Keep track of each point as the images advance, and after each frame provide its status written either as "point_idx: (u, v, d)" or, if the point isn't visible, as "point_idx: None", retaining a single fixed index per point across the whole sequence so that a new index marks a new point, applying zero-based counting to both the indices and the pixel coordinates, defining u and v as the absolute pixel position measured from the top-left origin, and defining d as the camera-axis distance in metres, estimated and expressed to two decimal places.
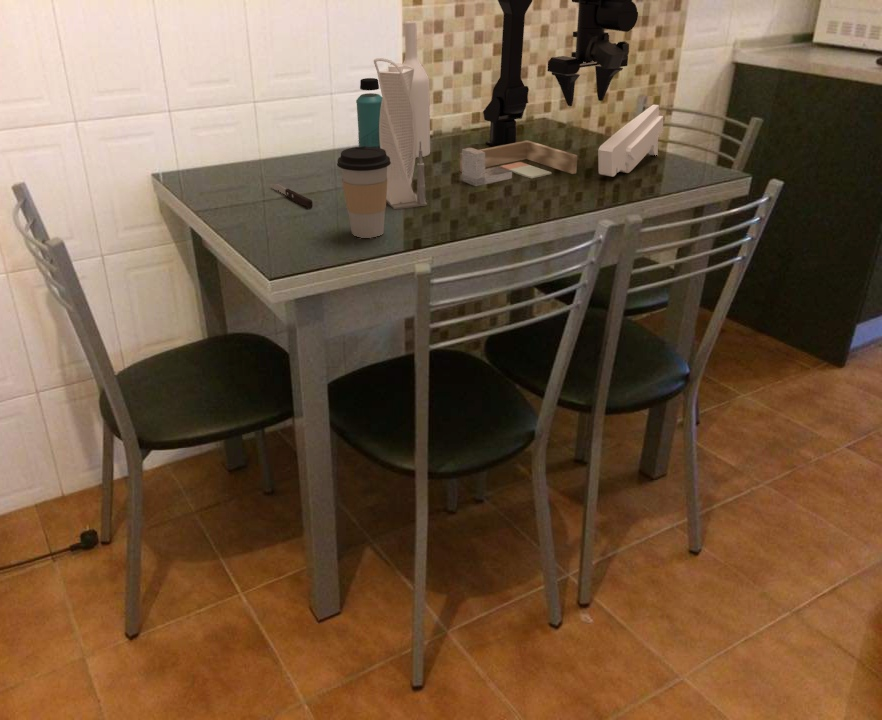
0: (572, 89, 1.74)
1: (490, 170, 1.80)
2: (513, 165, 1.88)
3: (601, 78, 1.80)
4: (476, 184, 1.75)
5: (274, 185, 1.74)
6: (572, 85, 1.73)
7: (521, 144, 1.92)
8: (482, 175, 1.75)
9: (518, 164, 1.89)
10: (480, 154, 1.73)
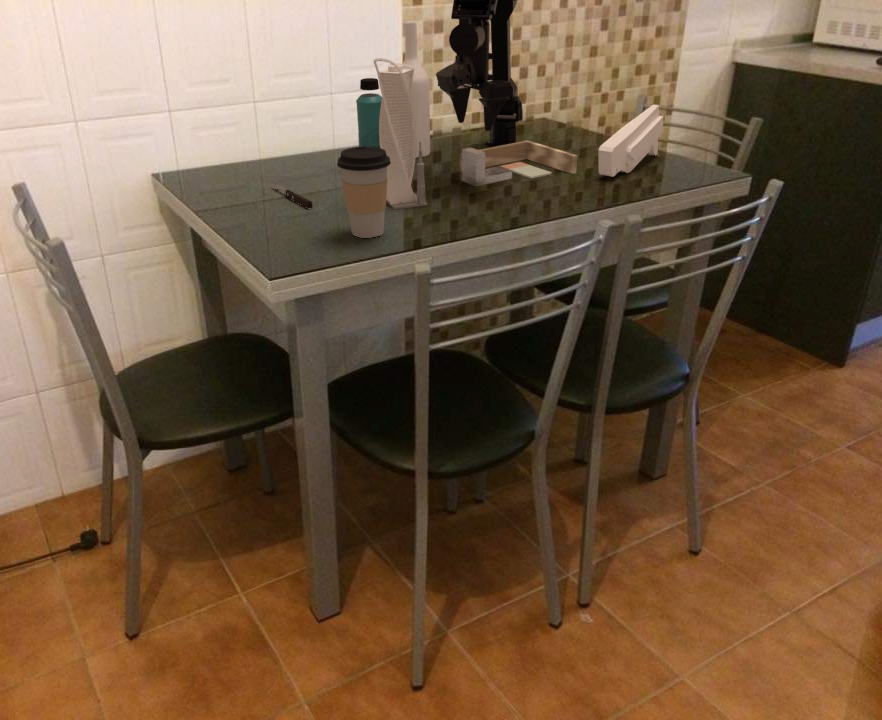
0: (454, 105, 1.73)
1: (490, 170, 1.80)
2: (513, 165, 1.88)
3: None
4: (476, 184, 1.75)
5: (274, 186, 1.74)
6: (454, 101, 1.73)
7: (521, 144, 1.92)
8: (482, 175, 1.75)
9: (518, 164, 1.89)
10: (480, 154, 1.73)
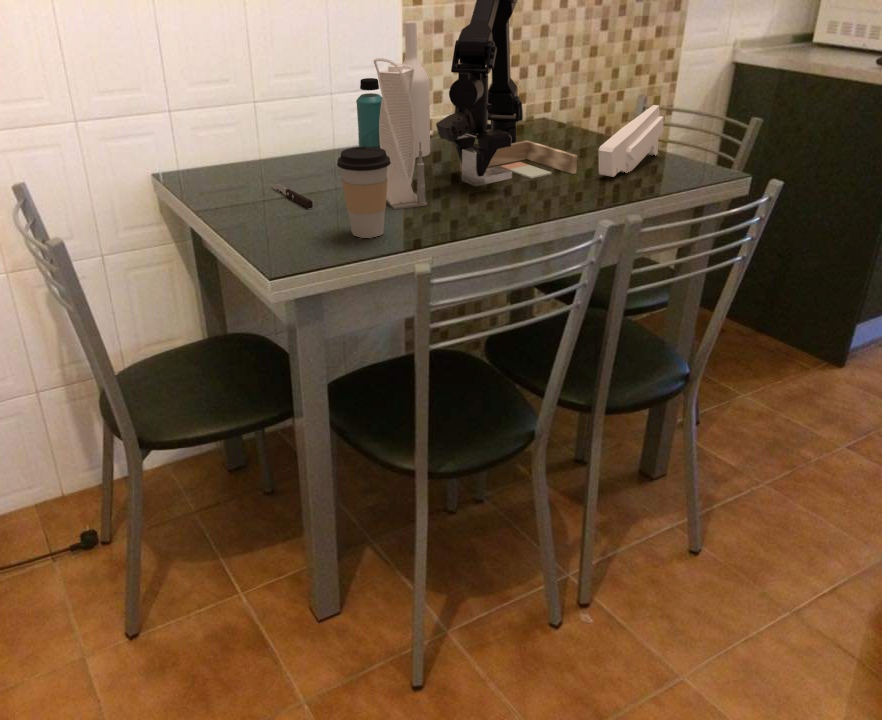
0: (459, 154, 1.77)
1: (490, 170, 1.80)
2: (513, 165, 1.88)
3: None
4: (476, 184, 1.75)
5: (275, 185, 1.74)
6: (459, 150, 1.76)
7: (521, 144, 1.92)
8: None
9: (518, 164, 1.89)
10: None
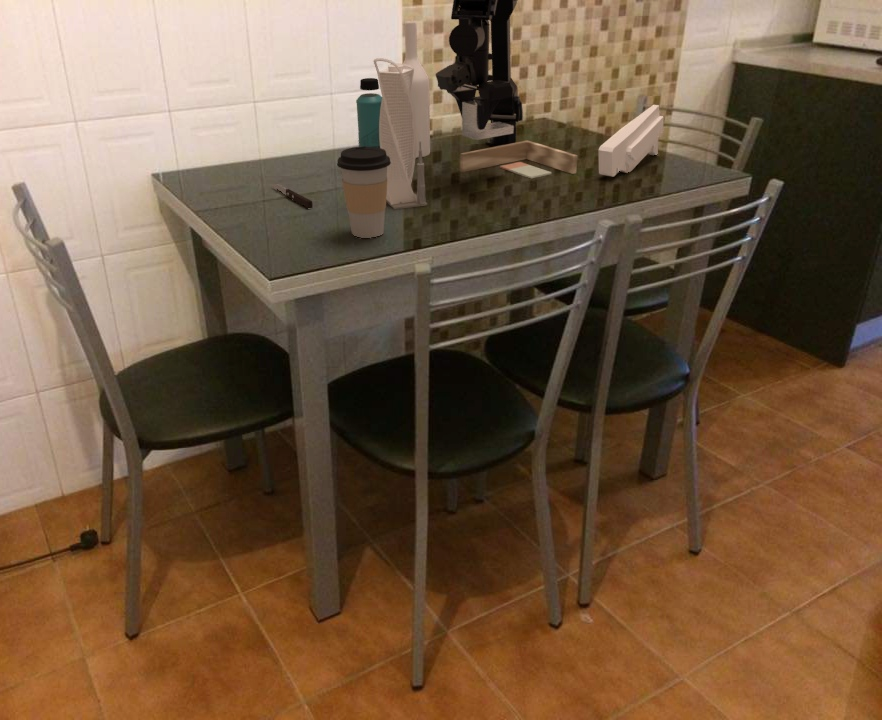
0: (459, 107, 1.72)
1: (491, 124, 1.76)
2: (513, 165, 1.88)
3: None
4: (477, 138, 1.71)
5: (275, 185, 1.74)
6: (459, 103, 1.72)
7: (521, 144, 1.92)
8: None
9: (518, 164, 1.89)
10: None
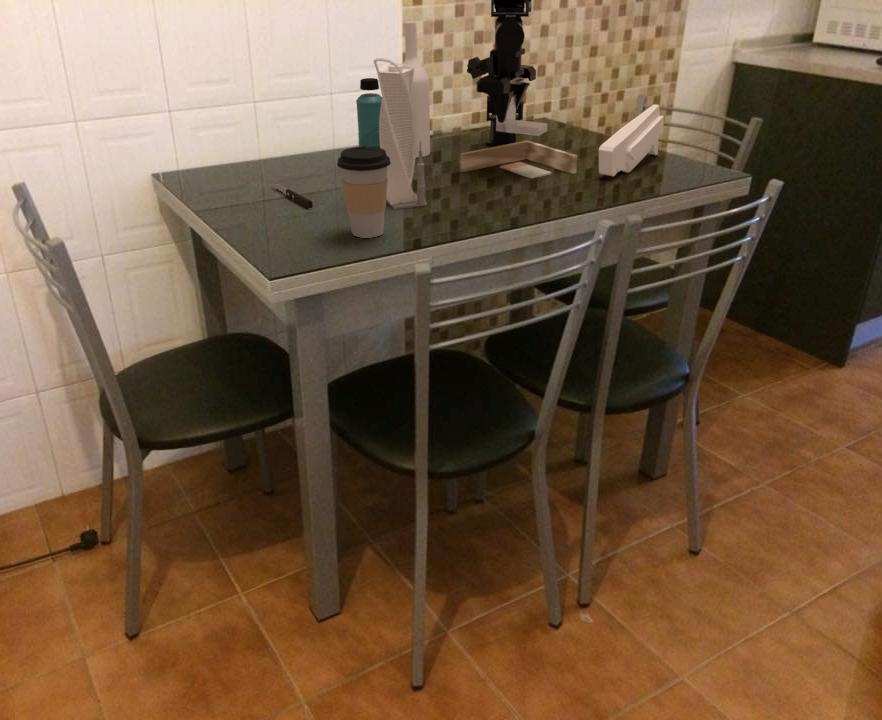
0: None
1: (530, 123, 1.78)
2: (513, 165, 1.88)
3: None
4: (496, 129, 1.78)
5: (275, 185, 1.74)
6: None
7: (521, 144, 1.92)
8: (503, 122, 1.77)
9: (518, 164, 1.89)
10: None
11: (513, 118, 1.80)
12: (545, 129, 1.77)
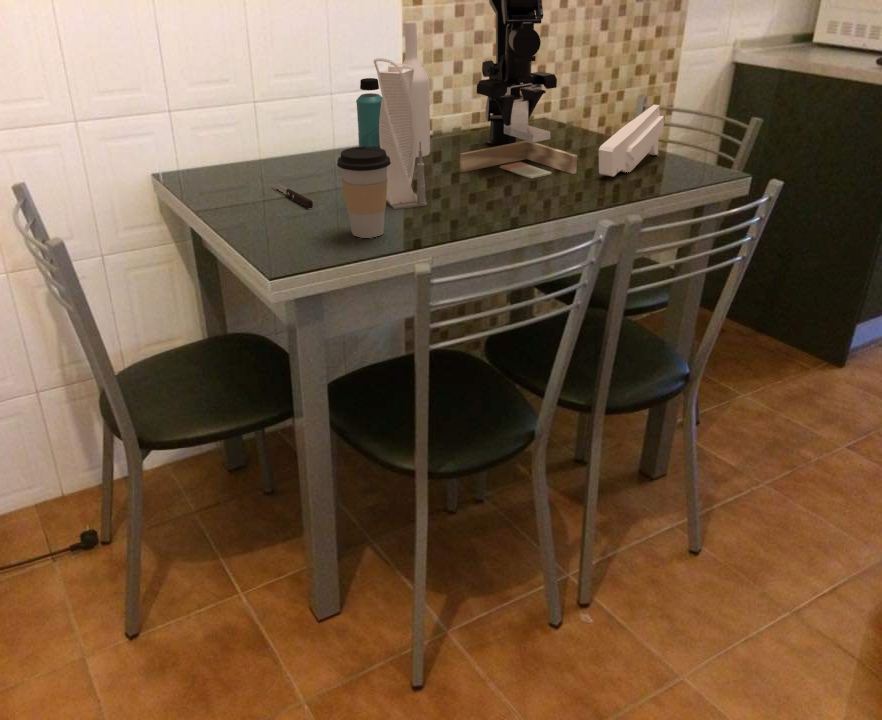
0: None
1: (535, 129, 1.80)
2: (513, 165, 1.88)
3: None
4: (504, 131, 1.84)
5: (275, 185, 1.74)
6: None
7: (521, 144, 1.92)
8: None
9: (518, 164, 1.89)
10: None
11: (524, 123, 1.83)
12: (546, 137, 1.79)
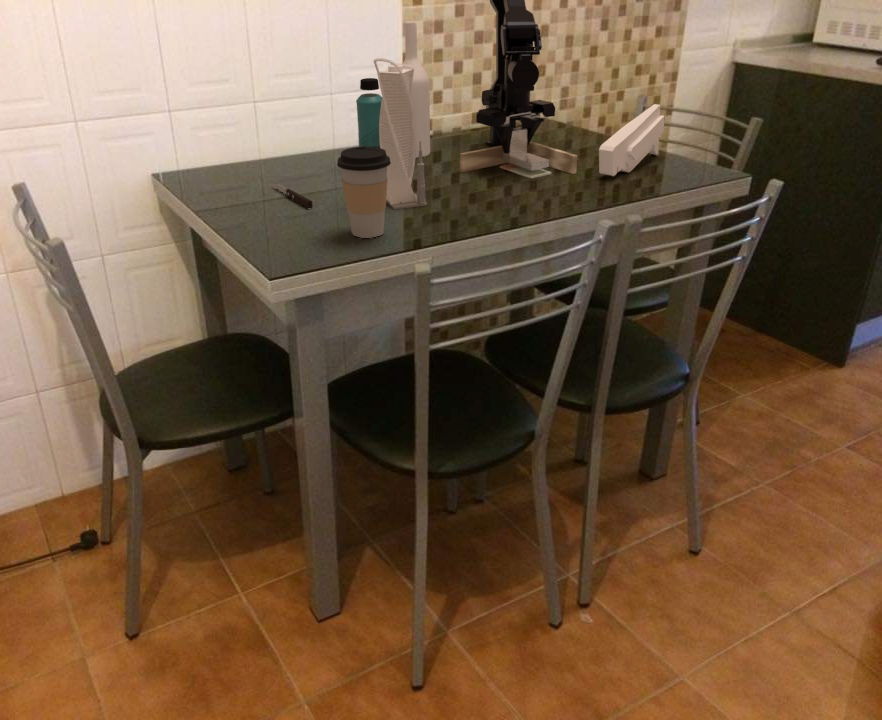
0: None
1: (534, 157, 1.83)
2: (513, 165, 1.88)
3: None
4: (503, 159, 1.87)
5: (275, 185, 1.74)
6: None
7: None
8: (508, 153, 1.85)
9: None
10: None
11: (523, 151, 1.86)
12: (545, 165, 1.82)
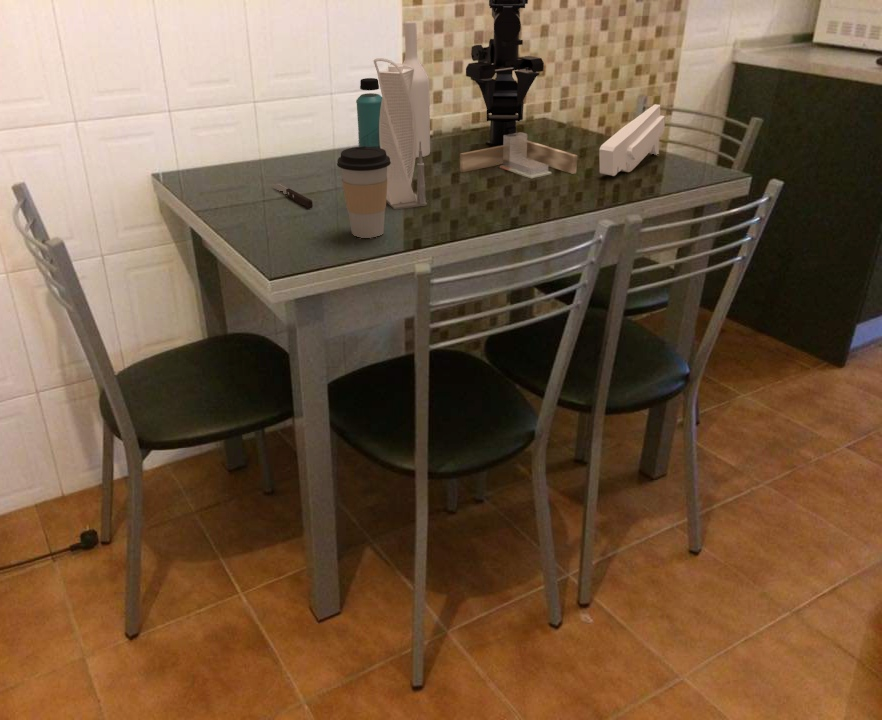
0: None
1: (533, 163, 1.84)
2: None
3: None
4: (503, 164, 1.87)
5: (276, 185, 1.74)
6: None
7: None
8: (507, 158, 1.85)
9: None
10: (506, 137, 1.84)
11: (522, 156, 1.87)
12: (544, 170, 1.82)
